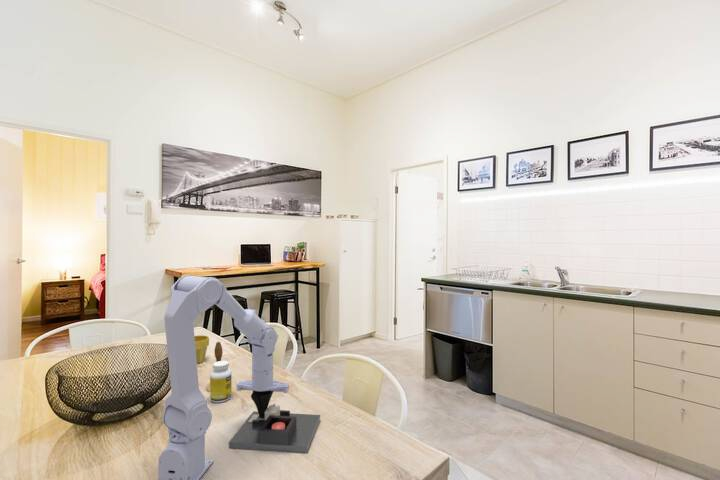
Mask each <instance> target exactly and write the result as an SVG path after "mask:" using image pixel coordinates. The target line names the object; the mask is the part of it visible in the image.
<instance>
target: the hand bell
mask: <svg viewBox="0 0 720 480" xmlns="http://www.w3.org/2000/svg"><path fill="white" fill-rule="evenodd" d="M214 357H215V360H216V361H215V362H218V361H222V357H223V347H222V343H221V341H217V342H216V343H215V346H214ZM205 390H206V391H207V392H209V393H210V382H209V383H208V384H207V385H206V387H205Z"/></svg>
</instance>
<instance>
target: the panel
mask: <svg viewBox="0 0 720 480" xmlns="http://www.w3.org/2000/svg"><path fill="white" fill-rule="evenodd" d="M277 422H283V423H285V430H276V429H272V425H273V424H274V423H277ZM320 422H321V414H310V413H309V414H306V413H291V410H283V409H282V410H281V409H280V416H275V415H270V416H269V417H268V418H267V420H265V417H264V418H259V413H258V411H252V412H251V414H250V415H249V416H248V418H247V419H246V420H245V421H244V423H242V425H241V426H240V427H239V429H238V430H237V431H236V432H235V433H234V435H233V436H232V437H231V439H230V440H229V441H228V448H229V449H241V450H253V451H254V450H255V451H267V452H268V451H269V452H273V451H274V452H286V453H301V454H308V452H309V449H310V446H311V445H312V441H313V439H314V436H315V434H316V432H317V429H318V428H319V424H320Z"/></svg>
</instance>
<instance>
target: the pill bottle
mask: <svg viewBox="0 0 720 480" xmlns="http://www.w3.org/2000/svg"><path fill="white" fill-rule="evenodd" d="M212 368H213V371H211V372H210V375H209V383H210V392H209V395H210V396H209V397H210V401H211V402H213V403H224V402H227V401H229V400H231V398H232V395H233V393H232V390H233V389H232V370H231V369H230V368H229V361H227V360H221V361H218V362H216V361H215V362H214V363H213V364H212Z"/></svg>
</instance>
